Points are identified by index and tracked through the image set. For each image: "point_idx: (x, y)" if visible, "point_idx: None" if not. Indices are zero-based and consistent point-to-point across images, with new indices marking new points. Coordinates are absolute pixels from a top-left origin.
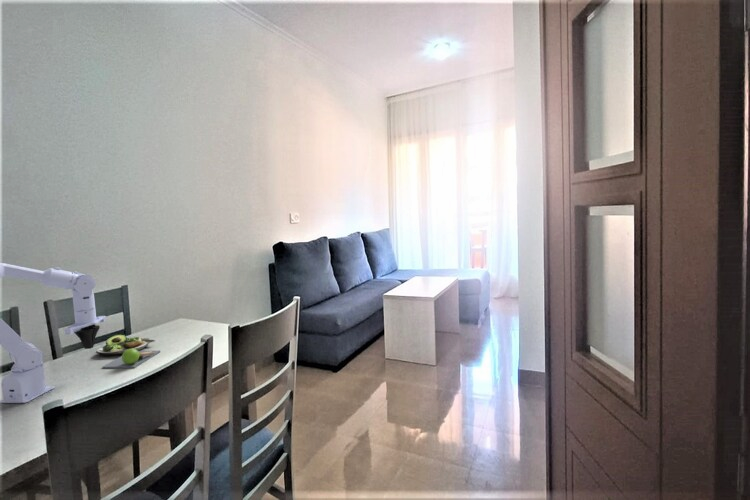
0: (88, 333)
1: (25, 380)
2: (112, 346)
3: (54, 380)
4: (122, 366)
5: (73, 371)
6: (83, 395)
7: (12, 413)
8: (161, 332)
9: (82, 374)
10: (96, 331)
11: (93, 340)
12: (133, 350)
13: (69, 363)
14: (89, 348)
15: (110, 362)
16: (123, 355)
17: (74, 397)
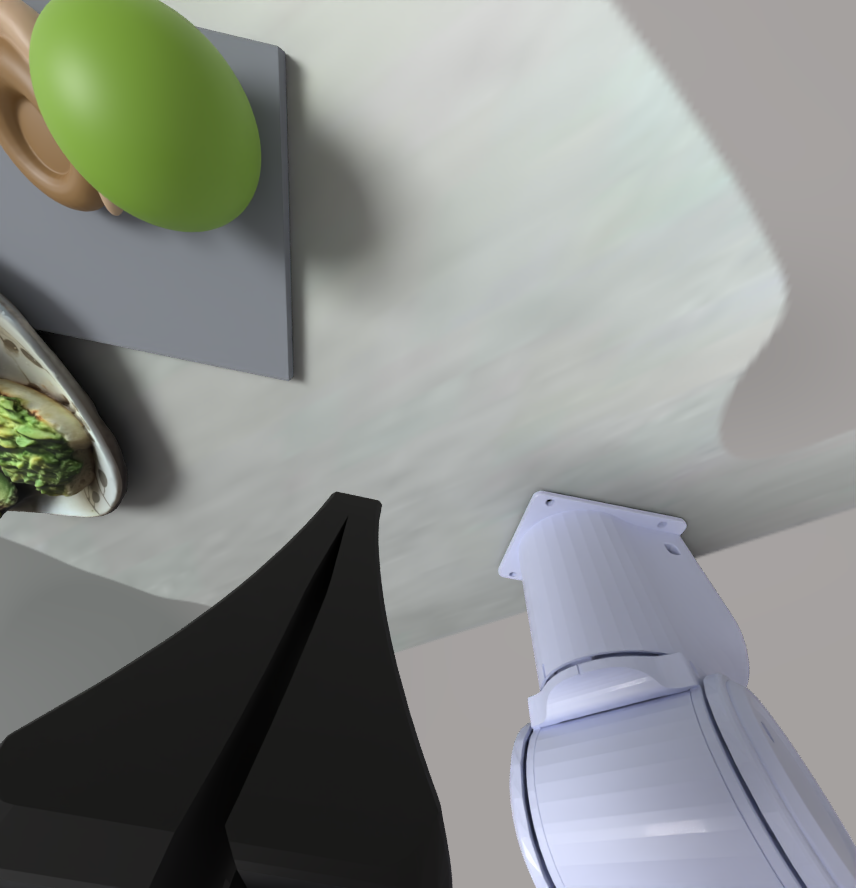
0: (425, 773)
1: (709, 621)
2: (26, 453)
3: (430, 529)
4: (279, 209)
5: None
6: (771, 255)
7: (782, 517)
8: None
9: (376, 445)
10: (167, 683)
11: (309, 553)
12: (88, 31)
13: (237, 559)
14: (379, 509)
15: (214, 362)
16: (216, 179)
17: (767, 308)
